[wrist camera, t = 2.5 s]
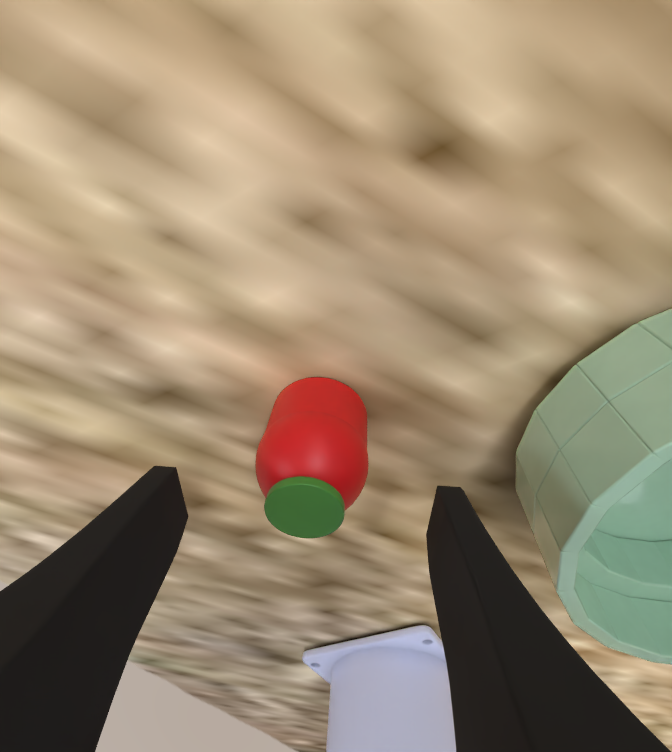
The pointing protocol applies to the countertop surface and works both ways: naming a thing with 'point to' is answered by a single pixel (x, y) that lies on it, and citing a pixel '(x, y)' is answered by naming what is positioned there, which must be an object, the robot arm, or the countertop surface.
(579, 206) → the countertop surface
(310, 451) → the strawberry
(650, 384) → the bowl
